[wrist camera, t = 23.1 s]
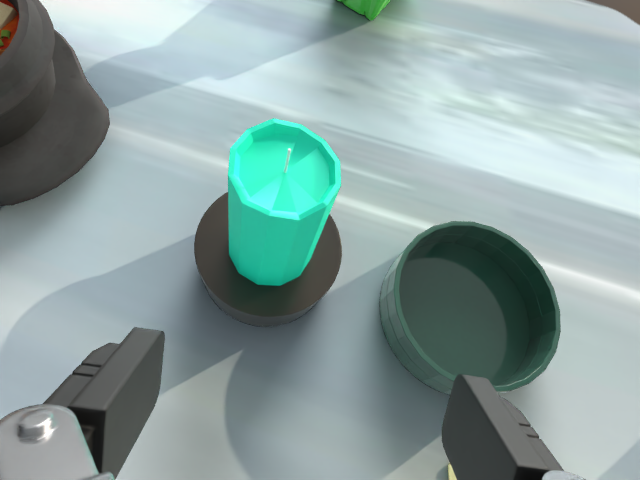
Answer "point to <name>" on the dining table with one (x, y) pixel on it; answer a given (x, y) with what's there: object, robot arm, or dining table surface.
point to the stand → (261, 300)
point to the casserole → (42, 105)
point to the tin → (469, 308)
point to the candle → (278, 199)
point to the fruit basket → (366, 7)
